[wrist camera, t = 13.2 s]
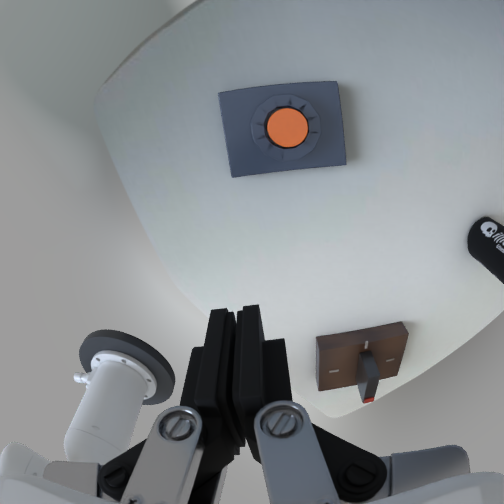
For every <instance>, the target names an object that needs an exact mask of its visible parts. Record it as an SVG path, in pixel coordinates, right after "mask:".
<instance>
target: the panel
mask: <svg viewBox="0 0 504 504" xmlns="http://www.w3.org/2000/svg"><path fill="white" fill-rule="evenodd" d="M408 335H409V333H408V331H407V330H406V328H405V326H404V324H403V323H402V322H397V323H393V324H388V325H383V326H378V327H373V328H368V329H362V330H357V331H351V332H345V333H339V334H333V335H326V336H320V337H316V381H317V386H318V391H325V390H331V389H337V388H342V387H348V386H353V385H357V382H356V374H357V368H358V361H359V354H360V353H361V352H366V351H371V352H372V355H373V357H374V360H375V362H376V365H377V367H378V370H379V372H380V378H379V380H381V379H385V378H389V377H393V376H397V374H398V371H399V368H400V364H401V361H402V357H403V354H404V350H405V346H406V343H407V339H408Z"/></svg>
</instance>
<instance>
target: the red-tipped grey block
mask: <svg viewBox="0 0 504 504" xmlns="http://www.w3.org/2000/svg"><path fill="white" fill-rule="evenodd" d="M379 378H380V372H379V370H378V367H377V365H376V362H375V360H374V357H373V355H372V352H371V351H366V352H361V353H360V354H359V361H358V368H357V374H356V382H357V385H358V389H359V392H360V396H361V399H362V402H363V403H368V402H373V401H374V397H375V393H376V390H377V386H378V382H379Z"/></svg>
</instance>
